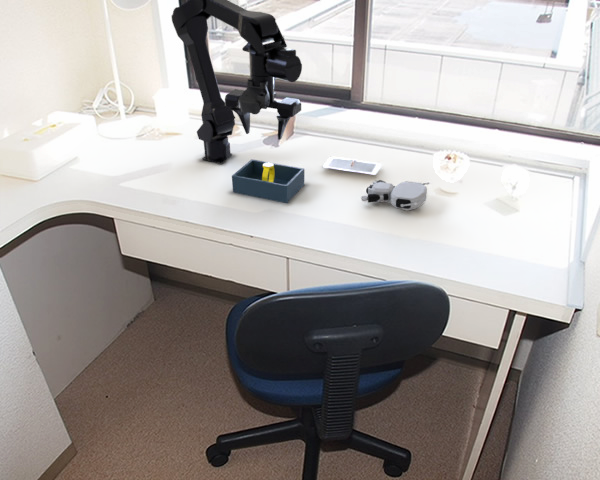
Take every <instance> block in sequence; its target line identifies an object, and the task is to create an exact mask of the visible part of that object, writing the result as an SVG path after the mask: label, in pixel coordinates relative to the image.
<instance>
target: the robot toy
mask: <svg viewBox="0 0 600 480" xmlns="http://www.w3.org/2000/svg"><path fill="white" fill-rule="evenodd" d="M430 184H431V183H430V182H424V183H423V182H419V181H418V182H417V181H408V180H407V181H401V182H400V183H398V184H396V185H394V184H392V183H390V182H386V181H384V180H381V179H379V180H374V181H372V183H371V184H369V185H368V186H367V187H366V189H365V193H366V194H367V195H362V196H361V197H360V201H362V202H367V203H389V202H390V204H391V205H392V206H393V207H394V208H396V209H401V210H403V211H406V212H408V211H410V210H414V209H418V208H419V207H421V206H422V205H423V204H424V203H425V202H426V201H427V196H428V195H427V193H428V187H427V186H426V185H430Z"/></svg>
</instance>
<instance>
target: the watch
mask: <svg viewBox="0 0 600 480" xmlns="http://www.w3.org/2000/svg"><path fill="white" fill-rule="evenodd" d="M273 163H274V162H270V163H264V164H263V168H264V170H263V175H262V181H268V182H274V176H275V170H274V164H273ZM268 172H269V180H268Z"/></svg>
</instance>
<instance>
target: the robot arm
mask: <svg viewBox="0 0 600 480" xmlns="http://www.w3.org/2000/svg"><path fill="white" fill-rule="evenodd" d="M211 17H213V18H215V19H217V20H219V21H221V22H223V23H224V24H226V25H228V26H230V27H232V28H233V29H236V30H237V31H238V34H239V36H240V38H242V39H243V40H244V41H246V42H247V43H246V44H245V45H243V47H242V51H243V52H246V53H248V54H249V55H248V56H249V58H248V59H249V78H248V79H247V81H246V82H247V85H246V89H245V90H242V89H238V88H237V89H233V90H232V91H230V92H228V93H226V95H225V97H224V99H223V98H222V95H221V91H220V88H219V83H218V81H217V78H216V77H217V76H216V73H215V70H214V66H213V63H212V58H211V56H210V52H209V49H208V45H207V38H208V37H207V36H208V31H209V25H208V20H209V19H210V18H211ZM276 20H277V19H276V18H275V17H274V16H273V14H270V13H266V12H263V11H255V10H247V9H246V8H243V7H241V6H239V5H238V4H236V3H233V2H232V1H230V0H187V1H185V2H184V3H182V4H181V5H180V6H176V7H174V9H173V12H172V14H171V22H172V26H173V28H174V30H175V32H176V35H177V37H178V38H179V39H180V41H182V43H183V44H185V45H186V48H187V51H188V55H189V58H190V61H191V65H192V69H193V70H194V75H195V78H196V82H197V85H198V89H199V92H200V95H201V99H202V102H203V104H202V108H201V109H202V110H201V114H200V115H201V121H202V124H201V125H200V126H199V128H198V129H197V131H196V134H197V139H198V140H200V141H203V149H204V156H203V157H202V158H201V159H202V161H206V162H211V163H215V164H224V163H225V162H226V161H227V160H228V159H230V158H232V156H233V153H231V144H230V142H229V136H232V135H233V131H234V128H235V126H236V121H235V119H236V116H235V114H234V112H235V113H236V114H237V116H238V118H239V120H240V122H241V125H242V128H243V130H244V132H245V134H246V135H249V134H250V131H251V114H252V115H258V114H259V113H260V112H261V110H267V109H274V110H276V112H277V115H276V119H277V140H278V141H281V140H282V139H283V135H284V133H285V130H286V128H287V127H288V126H287V125H288V123H289V122H290V119H291V118H294V116H296V115H297V114H298V113H300V112H301V111H302V102H301V100H300V99H299V98H295V97H294V98H293V97H285V98H283V99H281V100H275V99H276V98H277V92H275V82H276V81H277V80H278V79H279V80H282V81H285V82H289V83H296V81H297V80H299V79H300V77H301V74H302V70H303V64H302V60H301V58H300V57H299V56H297V50H296V49H293V48H288V44H287V42H286V40H285V38H284V36H283V34H282V32H281V30H280V27H279V25H278V23H277V21H276Z"/></svg>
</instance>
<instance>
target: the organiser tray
mask: <svg viewBox="0 0 600 480" xmlns="http://www.w3.org/2000/svg"><path fill="white" fill-rule="evenodd" d="M264 163H271V162H270V161H263V160H258V159H250V160H249V161H248V162H246V163H245V164H244V165H243V166H241V168H239V169H238V170H237V171H236V172H235V173H233V174H232V175H231V186H232V193H233V194H239V195H244V196H248V197H249V196H250V197H254V198H259V199H264V200H269V201H275V202H279V203H284V204H288V203H289V202H290V201H291V200H292V199H293V198H294V197H295V196H296V195H297V194H298V193H299V191H301V189H302V188H303V187H304V186H305V168H303V167H299V166H298V167H297V166H292V165H287V164H280V163H275V162H272V163H273V164H274V170H275V176H274V182H268V181H262V175H263V170H264V168H263V164H264ZM268 180H269V172H268Z"/></svg>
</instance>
